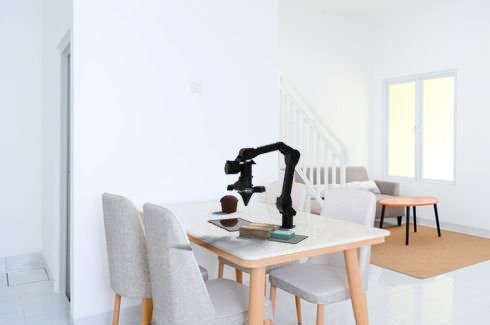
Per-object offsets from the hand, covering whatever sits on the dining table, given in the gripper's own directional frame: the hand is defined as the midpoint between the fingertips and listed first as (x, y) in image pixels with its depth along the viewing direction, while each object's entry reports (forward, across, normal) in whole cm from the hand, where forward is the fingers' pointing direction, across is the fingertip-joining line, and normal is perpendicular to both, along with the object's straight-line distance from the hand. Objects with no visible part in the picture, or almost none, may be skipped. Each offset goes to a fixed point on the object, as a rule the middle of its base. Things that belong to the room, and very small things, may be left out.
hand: (246, 206), depth 204 cm
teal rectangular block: (+12, +22, -4) cm, 25 cm away
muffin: (+12, -35, +41) cm, 55 cm away
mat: (+12, +24, -4) cm, 27 cm away
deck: (+12, +10, -4) cm, 16 cm away
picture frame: (+13, -12, +10) cm, 20 cm away
